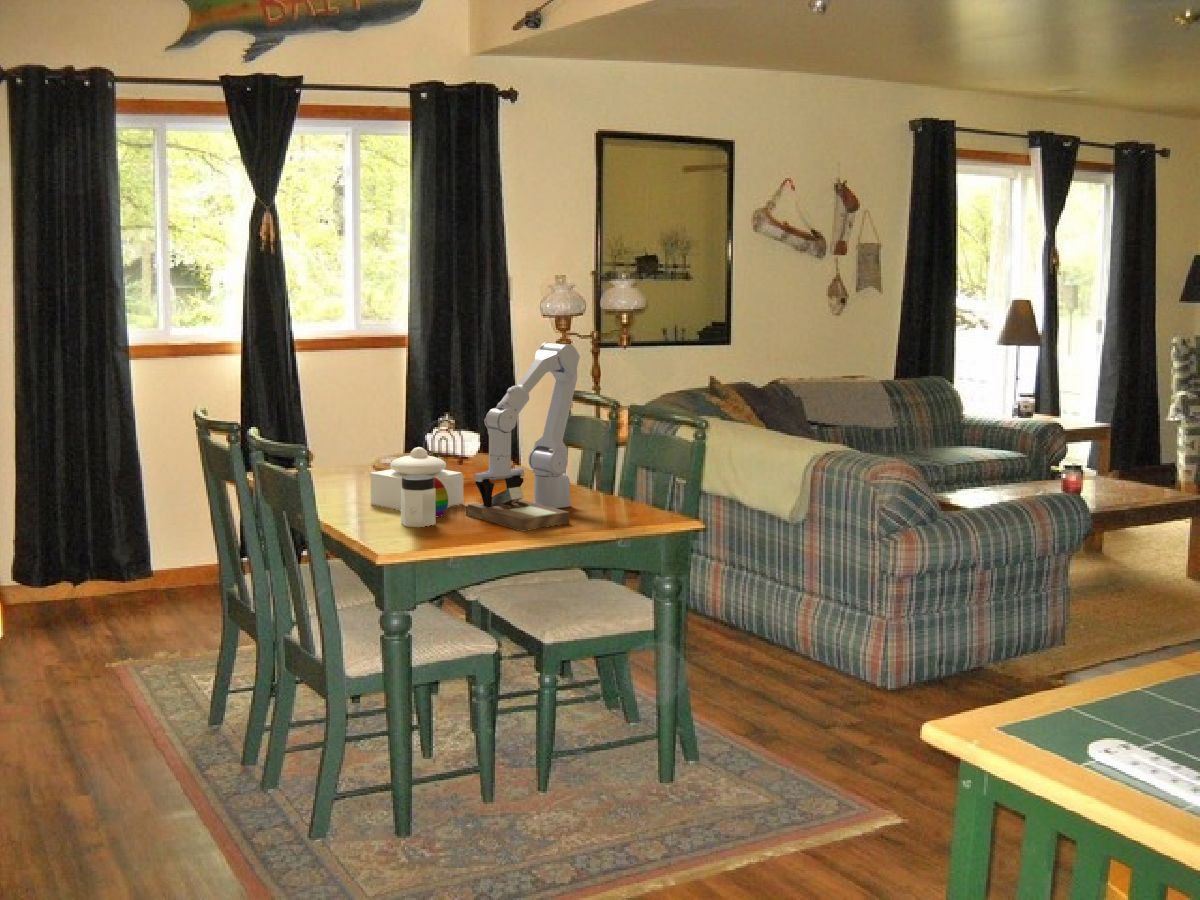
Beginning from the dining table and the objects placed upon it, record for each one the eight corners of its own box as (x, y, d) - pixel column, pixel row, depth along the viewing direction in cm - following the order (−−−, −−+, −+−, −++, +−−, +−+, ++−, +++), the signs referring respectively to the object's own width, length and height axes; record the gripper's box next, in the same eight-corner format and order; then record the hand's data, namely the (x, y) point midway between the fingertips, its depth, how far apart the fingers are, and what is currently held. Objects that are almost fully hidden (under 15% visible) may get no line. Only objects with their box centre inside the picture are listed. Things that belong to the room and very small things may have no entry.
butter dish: (416, 514, 346) (416, 454, 343) (369, 505, 357) (368, 446, 354) (463, 505, 360) (463, 447, 357) (416, 496, 371) (416, 439, 368)
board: (511, 508, 356) (511, 494, 355) (569, 523, 338) (569, 508, 337) (465, 515, 346) (465, 500, 345) (522, 531, 328) (522, 516, 327)
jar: (395, 526, 330) (395, 479, 329) (405, 519, 338) (405, 473, 337) (430, 528, 329) (430, 480, 327) (439, 521, 337) (439, 475, 335)
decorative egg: (413, 512, 347) (413, 475, 346) (444, 511, 350) (444, 473, 348) (420, 519, 340) (419, 480, 338) (451, 517, 342) (451, 479, 341)
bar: (500, 509, 350) (497, 498, 351) (523, 497, 342) (521, 486, 342) (488, 511, 347) (485, 500, 348) (511, 499, 339) (508, 488, 340)
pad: (531, 507, 342) (531, 506, 342) (557, 513, 335) (557, 512, 335) (509, 510, 338) (509, 509, 338) (535, 517, 330) (535, 516, 330)
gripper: (512, 450, 352) (512, 500, 355) (468, 455, 343) (467, 506, 345) (529, 453, 347) (528, 504, 349) (484, 458, 338) (483, 511, 340)
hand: (499, 506), depth 347 cm, fingers open, 7 cm apart
